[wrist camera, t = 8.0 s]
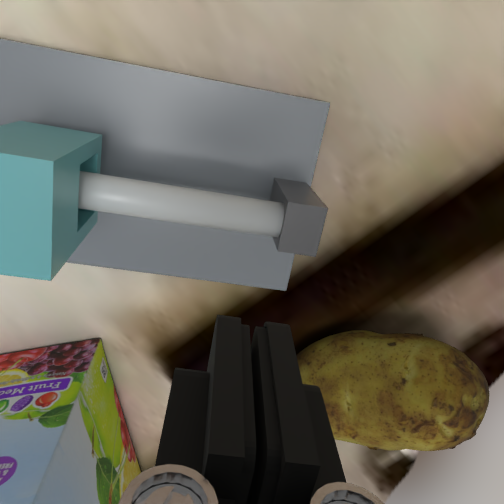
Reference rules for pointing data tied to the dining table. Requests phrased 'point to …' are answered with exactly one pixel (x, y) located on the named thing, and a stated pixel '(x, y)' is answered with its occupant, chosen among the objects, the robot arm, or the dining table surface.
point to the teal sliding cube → (43, 196)
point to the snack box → (62, 428)
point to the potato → (396, 390)
